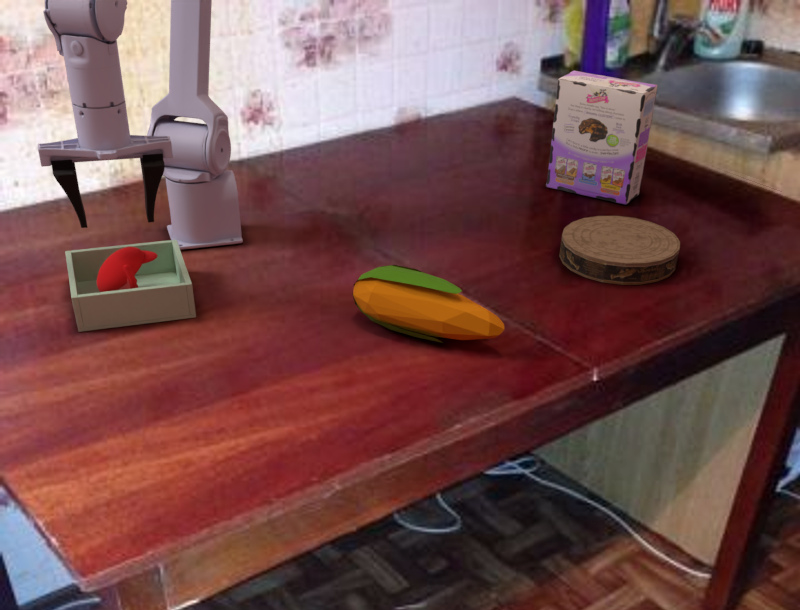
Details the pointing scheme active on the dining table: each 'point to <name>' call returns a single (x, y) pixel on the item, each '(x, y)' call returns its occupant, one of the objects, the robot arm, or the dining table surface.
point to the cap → (122, 269)
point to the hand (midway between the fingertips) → (117, 222)
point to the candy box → (600, 136)
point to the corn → (422, 305)
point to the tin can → (619, 250)
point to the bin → (151, 302)
